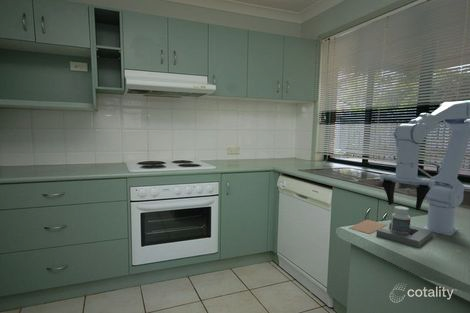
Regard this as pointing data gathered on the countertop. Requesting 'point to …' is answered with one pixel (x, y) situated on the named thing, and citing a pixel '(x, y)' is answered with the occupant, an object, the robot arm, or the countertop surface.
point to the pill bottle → (400, 220)
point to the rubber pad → (368, 226)
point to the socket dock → (407, 236)
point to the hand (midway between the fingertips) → (404, 206)
